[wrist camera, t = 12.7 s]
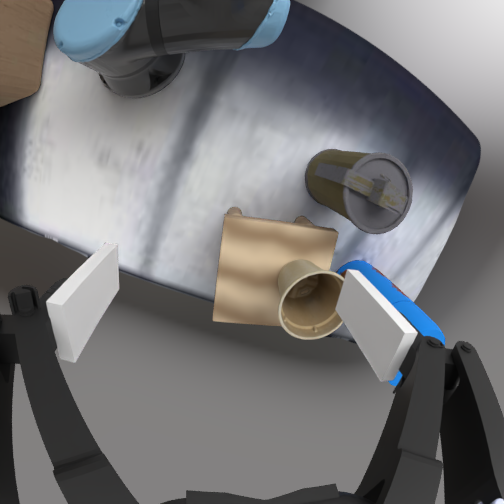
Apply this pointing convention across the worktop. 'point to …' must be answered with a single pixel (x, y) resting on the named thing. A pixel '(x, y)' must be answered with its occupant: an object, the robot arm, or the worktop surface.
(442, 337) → the thermos
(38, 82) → the block
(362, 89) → the worktop surface
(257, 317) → the footstool
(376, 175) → the canister
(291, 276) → the flower pot
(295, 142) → the worktop surface
